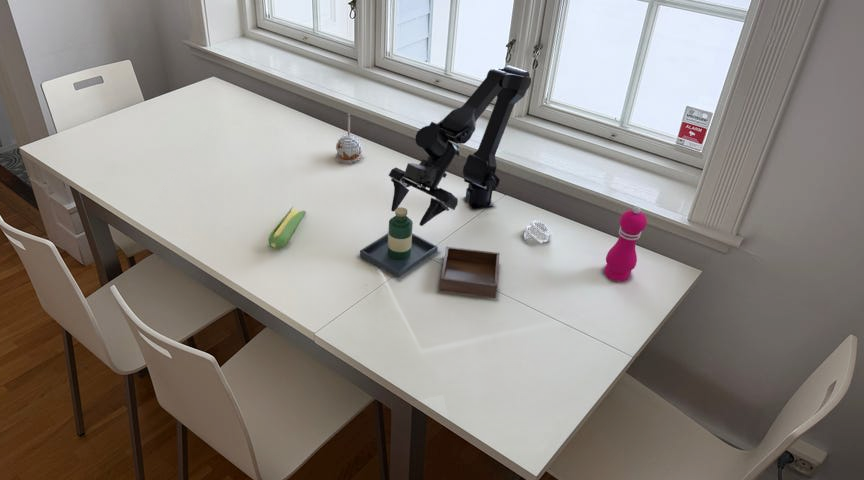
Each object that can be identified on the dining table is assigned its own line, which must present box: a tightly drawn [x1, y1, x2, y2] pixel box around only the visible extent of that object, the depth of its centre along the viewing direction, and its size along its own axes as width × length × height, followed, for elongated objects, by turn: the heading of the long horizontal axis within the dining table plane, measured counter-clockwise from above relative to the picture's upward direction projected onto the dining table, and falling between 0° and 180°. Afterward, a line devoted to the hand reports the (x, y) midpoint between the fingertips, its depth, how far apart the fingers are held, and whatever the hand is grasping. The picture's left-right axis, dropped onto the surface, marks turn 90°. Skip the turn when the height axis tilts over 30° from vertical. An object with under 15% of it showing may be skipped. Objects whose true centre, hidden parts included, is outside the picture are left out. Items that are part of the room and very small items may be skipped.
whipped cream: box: [523, 220, 551, 244], centre depth 177 cm, size 8×7×5 cm
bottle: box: [387, 206, 414, 260], centre depth 166 cm, size 6×6×13 cm
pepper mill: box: [603, 205, 648, 282], centre depth 161 cm, size 7×7×20 cm
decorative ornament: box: [335, 113, 363, 164], centre depth 205 cm, size 8×8×15 cm
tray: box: [359, 232, 439, 279], centre depth 170 cm, size 15×13×2 cm
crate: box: [438, 245, 501, 299], centre depth 162 cm, size 13×13×4 cm
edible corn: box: [267, 206, 307, 250], centre depth 176 cm, size 5×20×5 cm, turn 165°
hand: (406, 218), depth 165 cm, fingers open, 9 cm apart
